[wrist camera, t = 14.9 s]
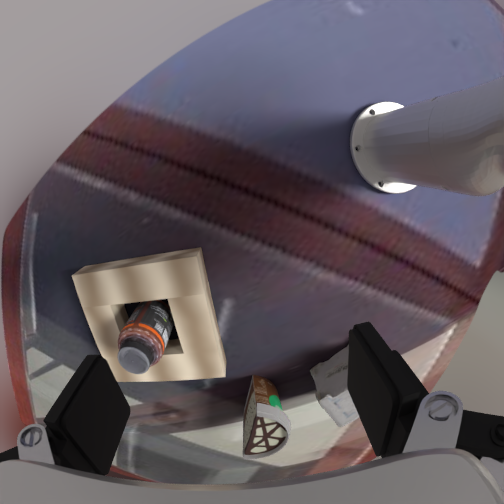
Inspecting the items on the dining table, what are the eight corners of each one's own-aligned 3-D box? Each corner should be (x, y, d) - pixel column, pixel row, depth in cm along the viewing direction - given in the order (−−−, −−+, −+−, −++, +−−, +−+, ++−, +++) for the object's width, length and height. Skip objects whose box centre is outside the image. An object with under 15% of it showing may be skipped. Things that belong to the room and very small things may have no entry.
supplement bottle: (133, 323, 41) (105, 368, 30) (142, 290, 39) (112, 331, 28) (169, 338, 41) (151, 387, 31) (180, 306, 40) (162, 352, 29)
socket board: (201, 247, 38) (196, 256, 34) (226, 360, 43) (225, 376, 39) (84, 266, 38) (71, 275, 34) (121, 366, 43) (113, 381, 39)
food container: (275, 420, 47) (281, 462, 38) (242, 417, 47) (242, 460, 37) (292, 371, 44) (303, 415, 34) (254, 367, 43) (257, 413, 34)
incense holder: (357, 327, 42) (383, 367, 32) (375, 359, 44) (400, 398, 34) (303, 361, 43) (317, 407, 33) (326, 389, 45) (342, 433, 36)
